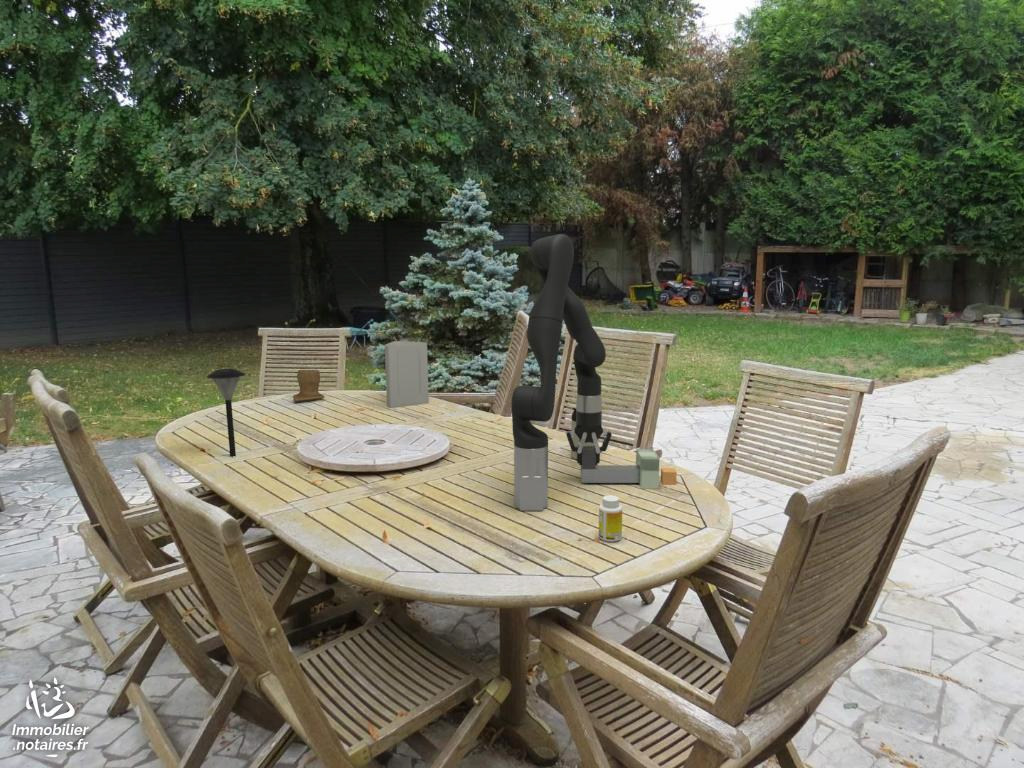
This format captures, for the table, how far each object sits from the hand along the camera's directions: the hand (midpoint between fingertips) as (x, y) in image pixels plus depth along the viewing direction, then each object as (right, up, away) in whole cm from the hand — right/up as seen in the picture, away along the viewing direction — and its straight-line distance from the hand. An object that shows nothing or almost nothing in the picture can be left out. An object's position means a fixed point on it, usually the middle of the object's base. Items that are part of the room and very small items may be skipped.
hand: (588, 464), depth 206 cm
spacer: (+22, -4, +1) cm, 22 cm away
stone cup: (-120, +16, +120) cm, 171 cm away
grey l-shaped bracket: (+9, -5, +1) cm, 10 cm away
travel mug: (+1, -1, +27) cm, 27 cm away
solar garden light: (-119, -1, +30) cm, 123 cm away
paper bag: (-73, +15, +113) cm, 136 cm away
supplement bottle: (+1, -13, -39) cm, 41 cm away
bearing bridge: (+18, -6, +1) cm, 19 cm away
